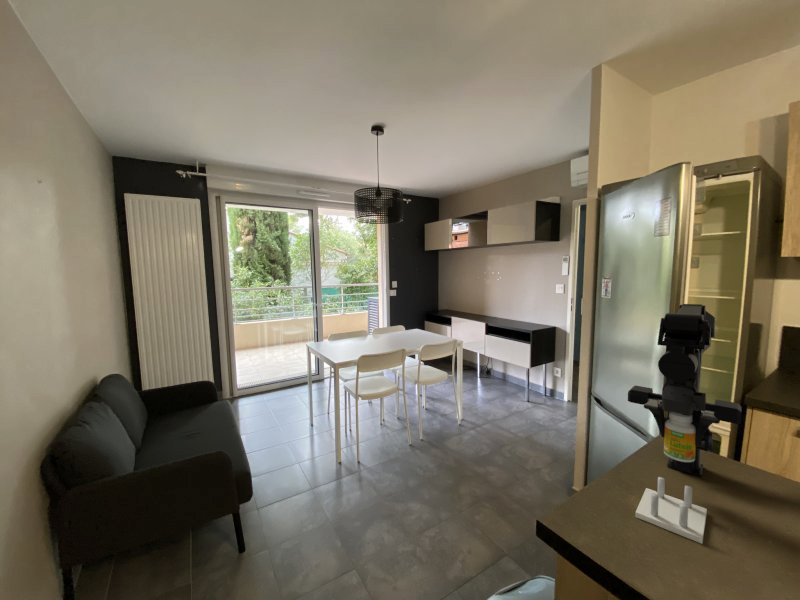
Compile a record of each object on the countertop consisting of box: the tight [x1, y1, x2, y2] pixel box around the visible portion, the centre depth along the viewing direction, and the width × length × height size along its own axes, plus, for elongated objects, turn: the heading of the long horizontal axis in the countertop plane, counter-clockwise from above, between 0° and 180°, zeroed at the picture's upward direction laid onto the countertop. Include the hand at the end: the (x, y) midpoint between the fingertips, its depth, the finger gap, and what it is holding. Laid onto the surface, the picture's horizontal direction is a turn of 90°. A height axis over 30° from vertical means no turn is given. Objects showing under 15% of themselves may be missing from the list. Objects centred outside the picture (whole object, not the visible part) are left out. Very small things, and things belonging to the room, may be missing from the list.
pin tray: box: [634, 476, 708, 545], centre depth 68 cm, size 11×10×5 cm
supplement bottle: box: [663, 412, 696, 462], centre depth 75 cm, size 5×5×10 cm
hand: (679, 440), depth 75 cm, fingers closed on supplement bottle, 5 cm apart
